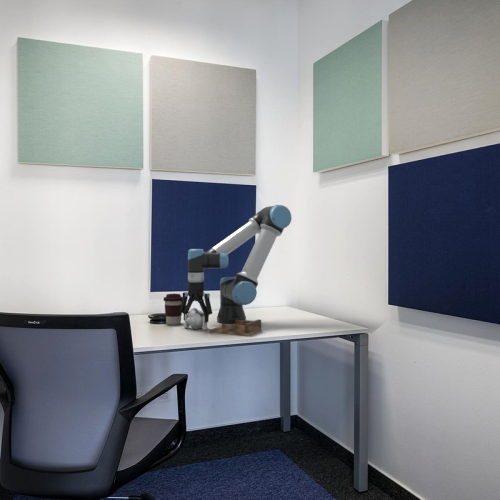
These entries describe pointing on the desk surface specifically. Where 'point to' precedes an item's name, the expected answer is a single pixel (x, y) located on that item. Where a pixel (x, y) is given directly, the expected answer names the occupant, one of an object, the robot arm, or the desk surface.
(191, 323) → the silver round lump
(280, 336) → the desk surface
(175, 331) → the desk surface
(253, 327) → the open wooden box
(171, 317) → the coffee cup
